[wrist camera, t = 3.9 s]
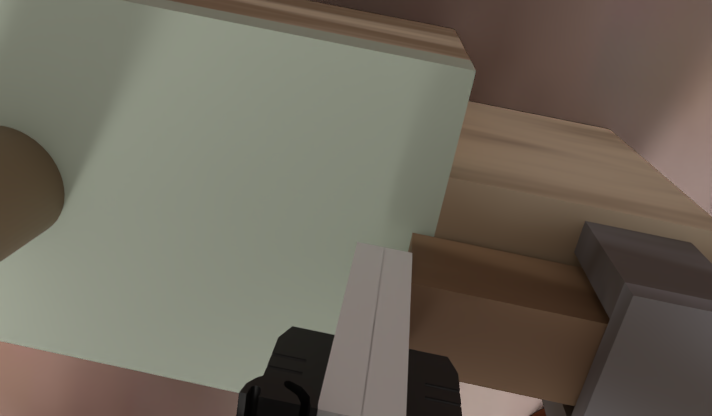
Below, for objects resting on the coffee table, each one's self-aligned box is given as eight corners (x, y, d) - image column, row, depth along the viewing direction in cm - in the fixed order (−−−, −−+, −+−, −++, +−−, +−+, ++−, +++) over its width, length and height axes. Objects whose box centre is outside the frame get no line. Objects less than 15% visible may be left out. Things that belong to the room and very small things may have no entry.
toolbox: (551, 295, 31) (669, 597, 16) (-78, 164, 32) (-516, 333, 17) (632, 64, 27) (901, 185, 12) (-104, -81, 28) (-728, -141, 13)
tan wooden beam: (724, 375, 18) (778, 450, 15) (394, 306, 18) (389, 366, 15) (760, 305, 17) (825, 370, 14) (412, 232, 17) (410, 282, 15)
